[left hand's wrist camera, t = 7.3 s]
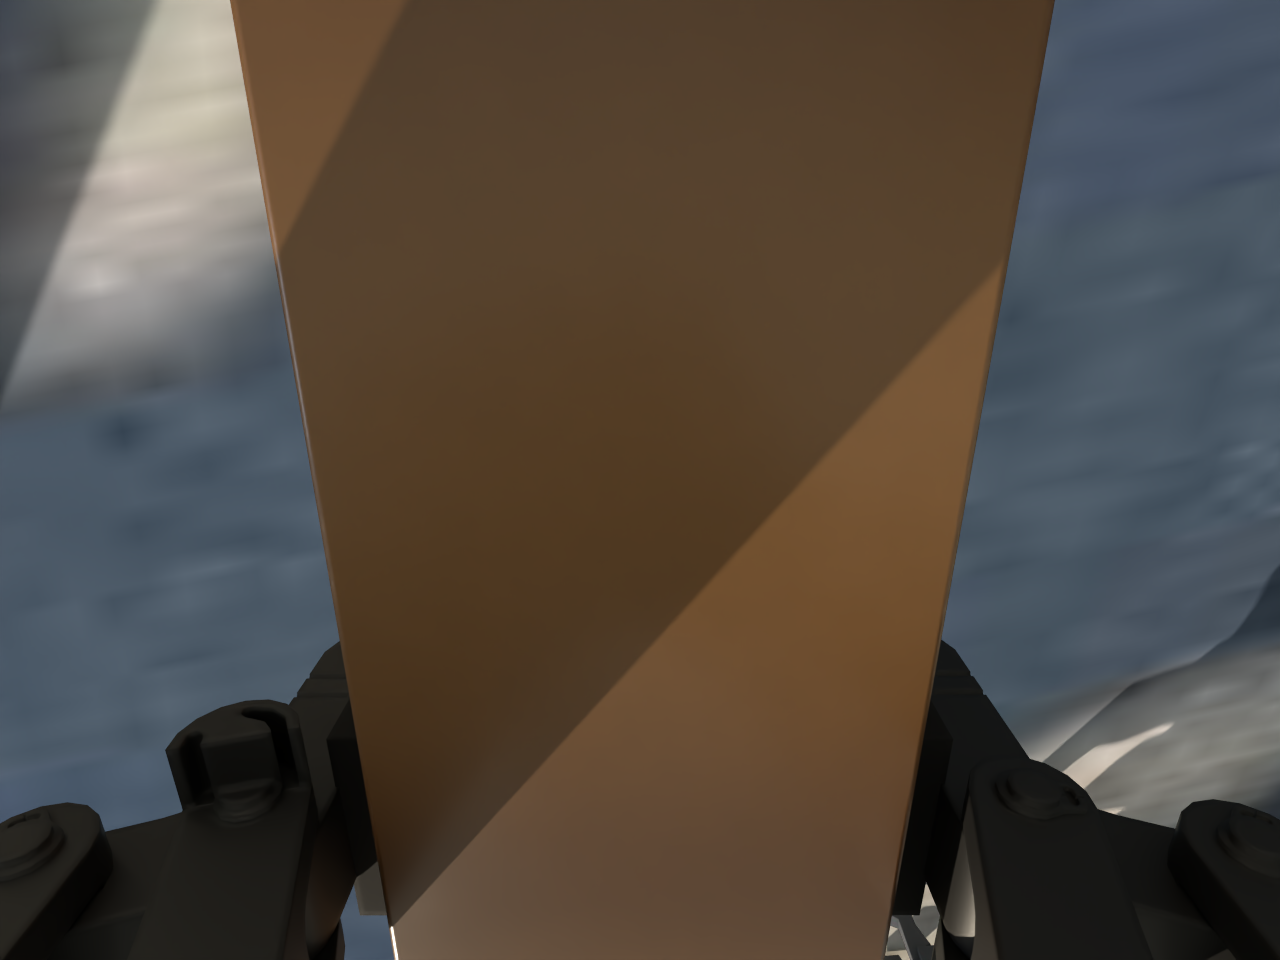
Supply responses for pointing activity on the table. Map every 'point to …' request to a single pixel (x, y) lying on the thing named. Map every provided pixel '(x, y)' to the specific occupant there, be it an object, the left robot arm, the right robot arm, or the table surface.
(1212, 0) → the table surface
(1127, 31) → the table surface
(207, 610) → the table surface
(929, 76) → the bar
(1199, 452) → the table surface
